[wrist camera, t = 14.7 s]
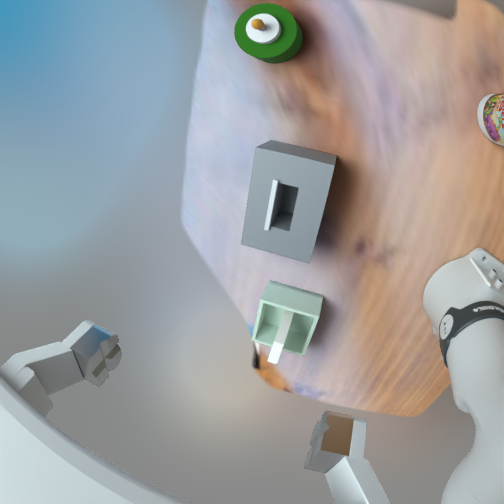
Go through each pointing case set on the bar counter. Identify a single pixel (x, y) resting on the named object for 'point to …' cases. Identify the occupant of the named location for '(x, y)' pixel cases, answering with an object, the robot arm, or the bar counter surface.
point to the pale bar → (280, 337)
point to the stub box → (273, 310)
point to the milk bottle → (492, 117)
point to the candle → (268, 33)
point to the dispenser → (287, 199)
